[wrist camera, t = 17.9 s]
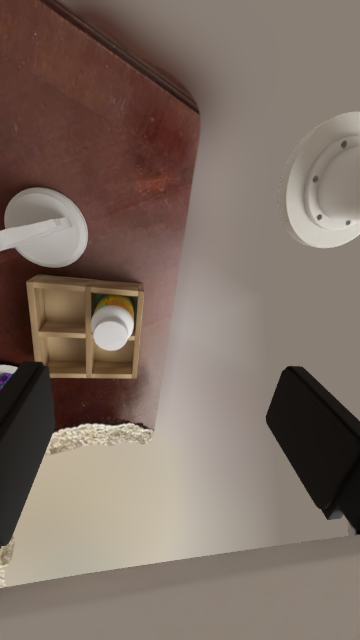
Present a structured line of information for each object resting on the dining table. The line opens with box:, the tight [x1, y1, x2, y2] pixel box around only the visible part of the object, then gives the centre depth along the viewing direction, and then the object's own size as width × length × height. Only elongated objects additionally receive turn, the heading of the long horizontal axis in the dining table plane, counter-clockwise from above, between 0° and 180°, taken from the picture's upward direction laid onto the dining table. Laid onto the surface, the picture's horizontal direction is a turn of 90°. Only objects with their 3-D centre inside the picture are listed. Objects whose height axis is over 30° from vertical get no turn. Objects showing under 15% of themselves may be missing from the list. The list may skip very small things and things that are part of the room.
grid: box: [26, 274, 144, 378], centre depth 36 cm, size 15×15×4 cm
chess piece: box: [0, 187, 88, 268], centre depth 25 cm, size 10×10×15 cm
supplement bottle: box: [91, 294, 134, 351], centre depth 32 cm, size 5×5×10 cm
